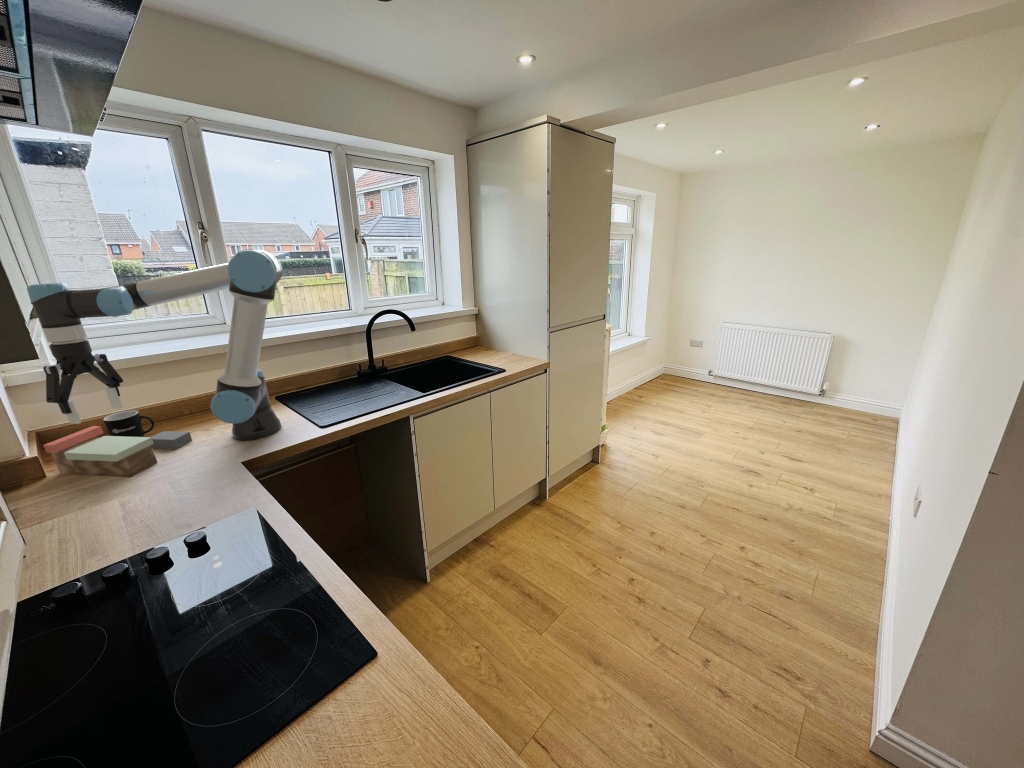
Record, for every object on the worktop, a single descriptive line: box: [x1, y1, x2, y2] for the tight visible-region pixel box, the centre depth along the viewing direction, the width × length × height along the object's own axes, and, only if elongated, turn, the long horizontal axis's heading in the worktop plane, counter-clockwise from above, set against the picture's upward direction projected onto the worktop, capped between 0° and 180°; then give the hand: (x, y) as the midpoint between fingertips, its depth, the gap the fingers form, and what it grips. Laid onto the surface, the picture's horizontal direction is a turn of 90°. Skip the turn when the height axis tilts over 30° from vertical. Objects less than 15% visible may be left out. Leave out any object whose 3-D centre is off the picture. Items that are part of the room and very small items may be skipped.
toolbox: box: [50, 437, 158, 478], centre depth 122 cm, size 24×8×8 cm, turn 83°
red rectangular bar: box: [42, 425, 104, 454], centre depth 121 cm, size 3×13×2 cm, turn 173°
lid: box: [64, 435, 154, 461], centre depth 121 cm, size 17×11×2 cm, turn 83°
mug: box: [103, 410, 155, 437], centre depth 140 cm, size 12×9×10 cm
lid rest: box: [150, 430, 193, 450], centre depth 137 cm, size 10×6×4 cm, turn 83°
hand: (97, 415), depth 117 cm, fingers open, 10 cm apart
